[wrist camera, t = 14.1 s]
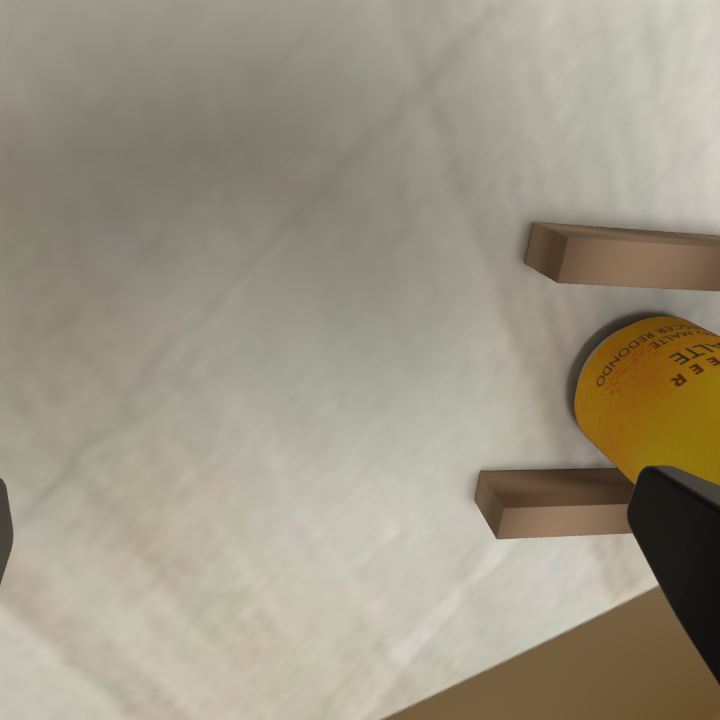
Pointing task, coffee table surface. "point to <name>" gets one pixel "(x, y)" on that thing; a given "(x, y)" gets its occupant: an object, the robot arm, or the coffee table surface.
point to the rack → (592, 267)
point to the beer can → (654, 397)
